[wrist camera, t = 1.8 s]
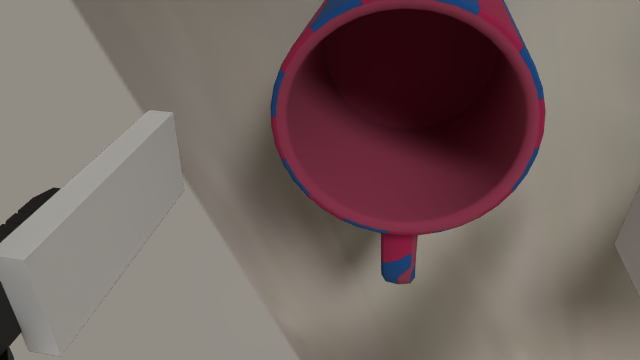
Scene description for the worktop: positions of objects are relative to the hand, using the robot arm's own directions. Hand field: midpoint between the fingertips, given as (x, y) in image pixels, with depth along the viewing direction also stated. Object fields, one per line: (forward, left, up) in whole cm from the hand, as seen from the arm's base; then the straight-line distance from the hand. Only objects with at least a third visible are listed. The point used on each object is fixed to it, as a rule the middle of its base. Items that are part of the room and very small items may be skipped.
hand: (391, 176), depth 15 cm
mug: (0, 0, -6) cm, 6 cm away
